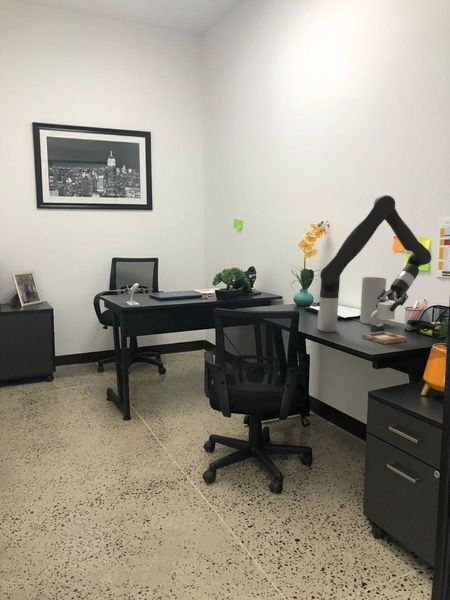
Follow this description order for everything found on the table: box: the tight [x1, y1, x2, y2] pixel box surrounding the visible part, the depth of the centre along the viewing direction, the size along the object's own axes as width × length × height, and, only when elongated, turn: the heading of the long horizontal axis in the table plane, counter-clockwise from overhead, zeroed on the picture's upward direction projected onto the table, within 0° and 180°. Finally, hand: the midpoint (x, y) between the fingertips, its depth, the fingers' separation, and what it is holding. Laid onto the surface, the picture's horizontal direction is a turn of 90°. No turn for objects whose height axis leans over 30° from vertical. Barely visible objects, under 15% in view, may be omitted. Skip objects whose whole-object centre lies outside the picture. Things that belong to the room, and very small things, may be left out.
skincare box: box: [377, 301, 396, 321], centre depth 226 cm, size 6×6×7 cm
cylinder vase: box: [359, 276, 387, 326], centre depth 267 cm, size 12×12×25 cm
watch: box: [370, 310, 387, 333], centre depth 245 cm, size 6×8×11 cm
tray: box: [361, 330, 407, 345], centre depth 228 cm, size 14×14×2 cm
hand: (384, 309), depth 225 cm, fingers closed on skincare box, 7 cm apart
